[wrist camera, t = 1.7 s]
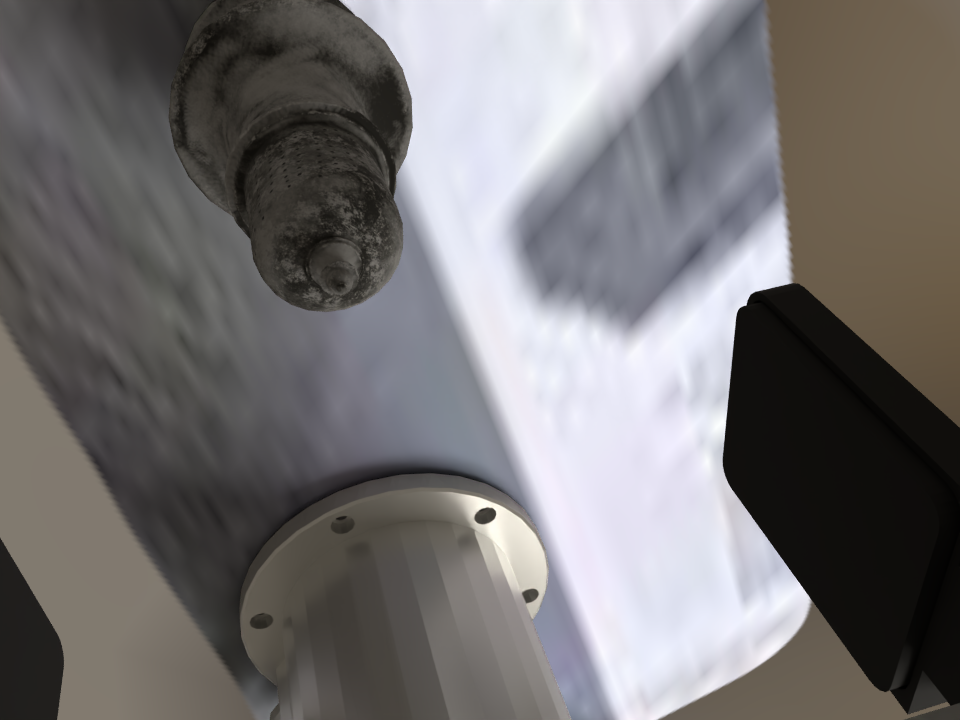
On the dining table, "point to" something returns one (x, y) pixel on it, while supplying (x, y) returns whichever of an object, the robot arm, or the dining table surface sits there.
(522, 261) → the dining table surface
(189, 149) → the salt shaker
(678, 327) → the dining table surface
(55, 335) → the dining table surface
